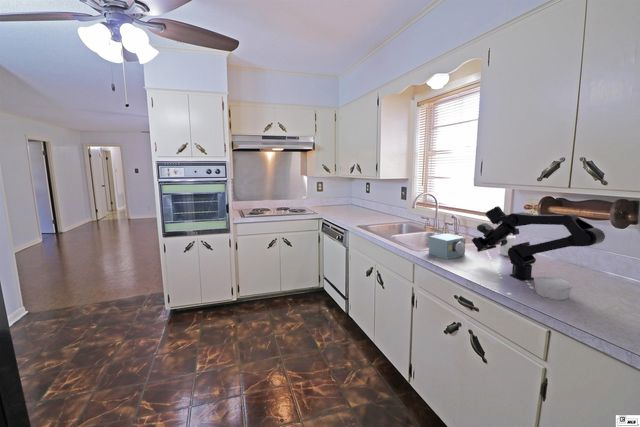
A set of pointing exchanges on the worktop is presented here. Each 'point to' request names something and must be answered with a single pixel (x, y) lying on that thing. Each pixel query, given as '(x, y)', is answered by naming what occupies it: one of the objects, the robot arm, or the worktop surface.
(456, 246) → the plug
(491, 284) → the worktop surface
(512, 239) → the white cup
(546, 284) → the ramekin
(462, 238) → the socket block
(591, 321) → the worktop surface
